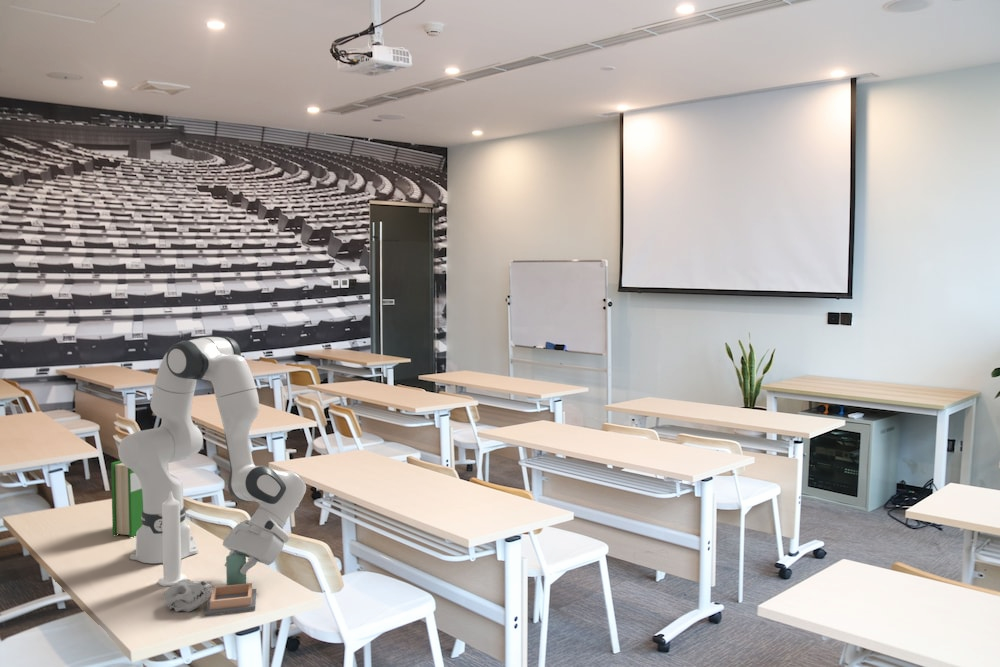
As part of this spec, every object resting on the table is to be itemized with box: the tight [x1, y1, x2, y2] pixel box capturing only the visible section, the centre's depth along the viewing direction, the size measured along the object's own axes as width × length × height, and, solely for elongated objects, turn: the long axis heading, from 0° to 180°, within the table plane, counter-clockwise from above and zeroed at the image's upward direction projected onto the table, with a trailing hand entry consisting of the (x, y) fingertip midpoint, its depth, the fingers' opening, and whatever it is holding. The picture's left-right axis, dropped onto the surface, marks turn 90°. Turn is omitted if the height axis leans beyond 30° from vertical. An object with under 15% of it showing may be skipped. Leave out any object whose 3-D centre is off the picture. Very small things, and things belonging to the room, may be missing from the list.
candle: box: [158, 491, 187, 587], centre depth 204 cm, size 7×7×25 cm
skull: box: [162, 578, 213, 613], centre depth 187 cm, size 8×9×12 cm
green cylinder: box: [225, 553, 247, 586], centre depth 201 cm, size 5×5×8 cm
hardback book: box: [110, 459, 169, 538], centre depth 249 cm, size 18×7×24 cm, turn 165°
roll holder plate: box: [204, 582, 257, 616], centre depth 190 cm, size 12×12×3 cm
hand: (234, 570), depth 201 cm, fingers closed on green cylinder, 5 cm apart
